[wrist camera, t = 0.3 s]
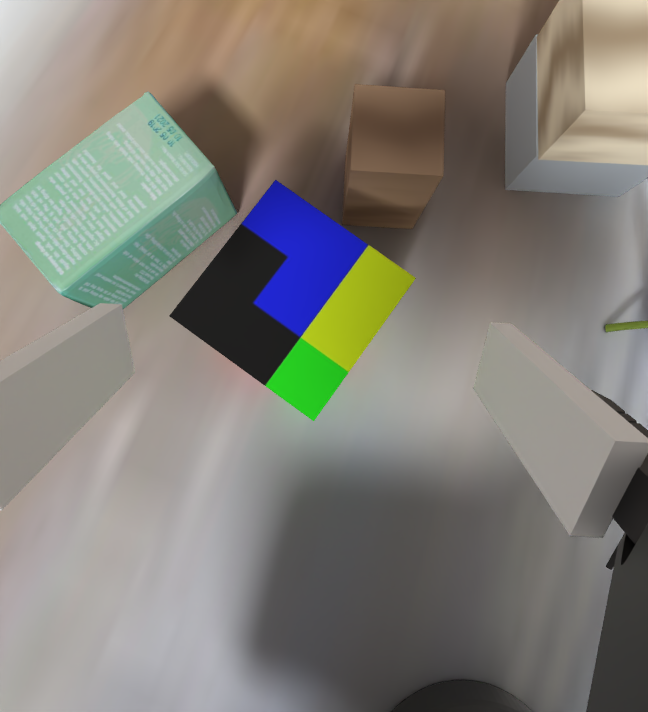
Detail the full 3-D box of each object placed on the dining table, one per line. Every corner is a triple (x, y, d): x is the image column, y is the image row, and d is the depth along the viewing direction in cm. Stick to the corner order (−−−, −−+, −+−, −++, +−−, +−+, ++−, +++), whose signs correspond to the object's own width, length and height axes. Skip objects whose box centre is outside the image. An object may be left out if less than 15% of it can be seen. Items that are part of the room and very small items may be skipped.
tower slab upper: (670, 166, 28) (745, 118, 24) (538, 159, 28) (585, 109, 23) (664, 44, 29) (734, -27, 24) (536, 37, 29) (581, -36, 24)
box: (58, 253, 32) (-20, 211, 24) (184, 154, 33) (147, 84, 25) (114, 319, 31) (52, 296, 24) (240, 216, 32) (219, 164, 25)
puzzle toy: (287, 245, 32) (275, 179, 22) (384, 314, 32) (415, 278, 22) (215, 340, 31) (169, 316, 21) (314, 412, 31) (313, 421, 21)
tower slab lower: (615, 198, 33) (668, 164, 29) (503, 191, 33) (536, 156, 28) (613, 93, 34) (663, 43, 30) (504, 86, 34) (536, 34, 29)
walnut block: (412, 229, 33) (443, 175, 25) (342, 224, 32) (350, 170, 24) (414, 162, 33) (445, 90, 25) (345, 158, 33) (354, 84, 25)
